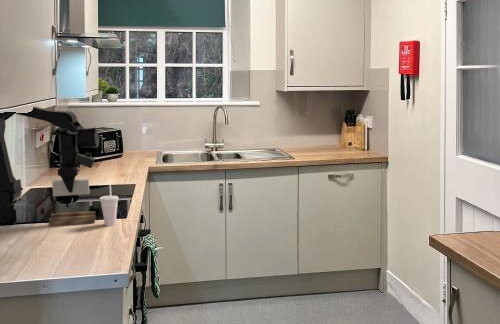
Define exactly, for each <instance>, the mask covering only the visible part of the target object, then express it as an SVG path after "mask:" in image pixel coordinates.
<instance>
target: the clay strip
mask: <svg viewBox="0 0 500 324" xmlns="http://www.w3.org/2000/svg"><path fill="white" fill-rule="evenodd" d="M51 184H52V196H53V197H62V196H63V197H65V196H79V195H80V196H81V195H90V178H81V179H80V178H78V179H76V178H75V180H74V184H73V192H71V193H69V191H68V189H67V187H66V185H65V184H64V182H63V180H62V179H61V180H52V182H51Z"/></svg>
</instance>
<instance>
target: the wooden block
mask: <svg viewBox="0 0 500 324" xmlns="http://www.w3.org/2000/svg"><path fill="white" fill-rule="evenodd" d="M48 223H49V224H48V225H49V227H57V226H73V225H87V224H88V225H89V224H95V223H96V211H95V210H93V211H91V210H90V211H75V212H61V213H60V212H59V213H51V214H50V217H49V219H48Z"/></svg>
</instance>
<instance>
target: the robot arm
mask: <svg viewBox="0 0 500 324" xmlns="http://www.w3.org/2000/svg"><path fill="white" fill-rule="evenodd" d="M14 115H20V116H23V117H28V118H31V119H37V120H41V121H44V122H46V123H49V124H50V125H53V126H55V127H57V128H56V130H54V131H53V133H52V135H51V136H58V141H59V142H58V143H59V152H58V153H59V154H58V155H59V157H60V163H59V165H60V166H59V168H58V169H57V176H59V177H60V178H61V180H63V182H64V184H65V185H66V187H67V189H68V191H69V193H71V192H73V184H74V180H75V179H76V178H77V176H78V175H79V172H80V168H81V167H82V166H84V167H87V168H89V169H92V168H93V165H94V162H95V158H94V157H92V154H91V153H90V152H86V153H85V154H81V153H79V150H78V146H80V148H98V147H99V145H100V136H99V133H98V129H97V127H90V128H84V127H83V126H82V124H81V123H80V122H79V121H78V117H77V116H76V113H74V112H73V111H69V110H68V111H67V110H52V109H51V110H50V109H46V108H43V107H38V106H35V107H33V110H32V111H31V112H28V113H16V112H4V113H0V226H6V225H7V226H10V225H15V224H16V223H17V221H18V220H19V215H18V213H19V212H18V208H16V204H17V202H18V199H20V197H21V196H22V191H23V190H24V188H23V187H22V184H21V183H22V181H21V178H19V179H16V177H15V176H14V174H13V170H12V166H11V160H10V158H9V157H10V156H9V152H8V147H7V144H6V140H5V131H6V121H7V120H9V119H11V118H12V117H13V116H14Z"/></svg>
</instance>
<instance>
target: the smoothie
mask: <svg viewBox="0 0 500 324" xmlns="http://www.w3.org/2000/svg"><path fill="white" fill-rule="evenodd" d="M108 187H109V195H103V196H101V197H99V201H100V205H101V209H102V210H101V211H102V216H103V221H104V226H106V227H111V226H112V227H113V226H116V225H117V215H118V201H119V200H120V199H119V196H118V195H112V184H109V186H108Z"/></svg>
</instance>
